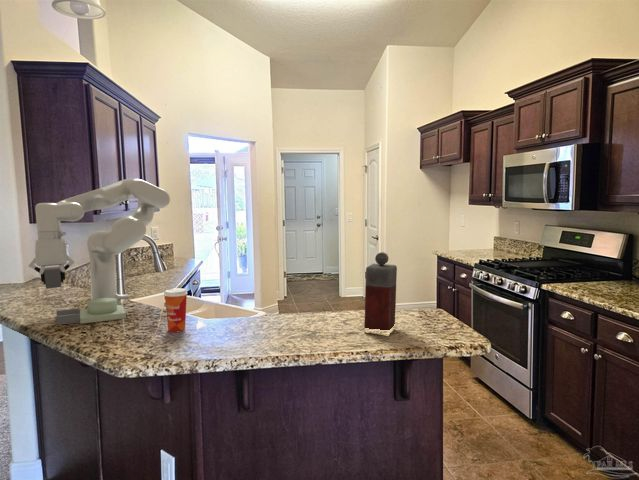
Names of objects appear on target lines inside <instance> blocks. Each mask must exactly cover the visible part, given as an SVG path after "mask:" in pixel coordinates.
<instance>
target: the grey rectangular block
mask: <svg viewBox="0 0 639 480" xmlns="http://www.w3.org/2000/svg"><path fill="white" fill-rule="evenodd" d="M60 273H61V269H60V266H59V265H58V266H49V267H48V266H46V267H45V269H44V274H45V284H44V287H45V290H46V289H55V288H62V285H63V283H62V282H61V274H60Z"/></svg>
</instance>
